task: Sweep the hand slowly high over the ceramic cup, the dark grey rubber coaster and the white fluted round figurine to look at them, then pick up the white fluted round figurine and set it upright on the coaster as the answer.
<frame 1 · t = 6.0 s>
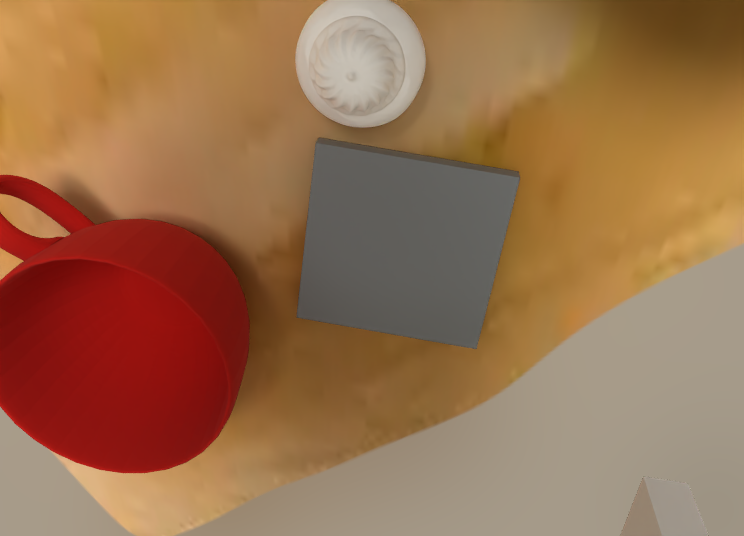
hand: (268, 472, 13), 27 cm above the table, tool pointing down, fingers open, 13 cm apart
white fluted round figurine: (368, 49, 36), on the table
ceramic cup: (154, 253, 43), on the table
coaster: (401, 244, 41), on the table
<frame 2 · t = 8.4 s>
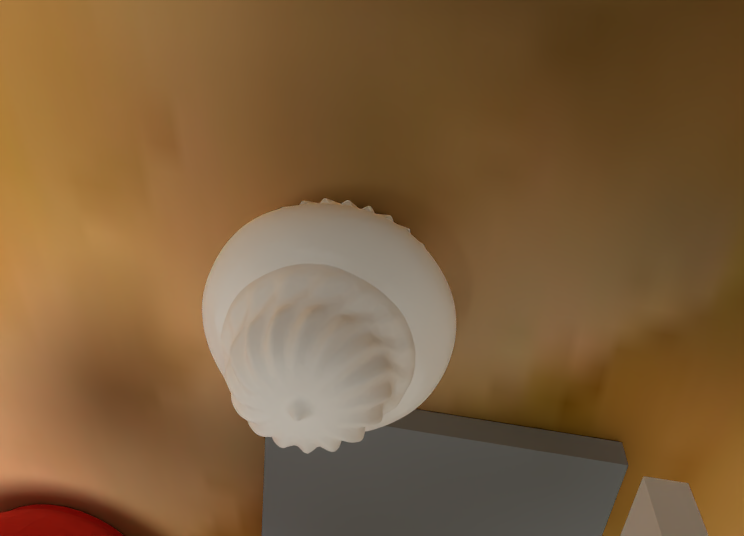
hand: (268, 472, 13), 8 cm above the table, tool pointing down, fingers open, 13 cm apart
white fluted round figurine: (350, 254, 20), on the table
ceramic cup: (36, 527, 28), on the table
coaster: (422, 534, 25), on the table
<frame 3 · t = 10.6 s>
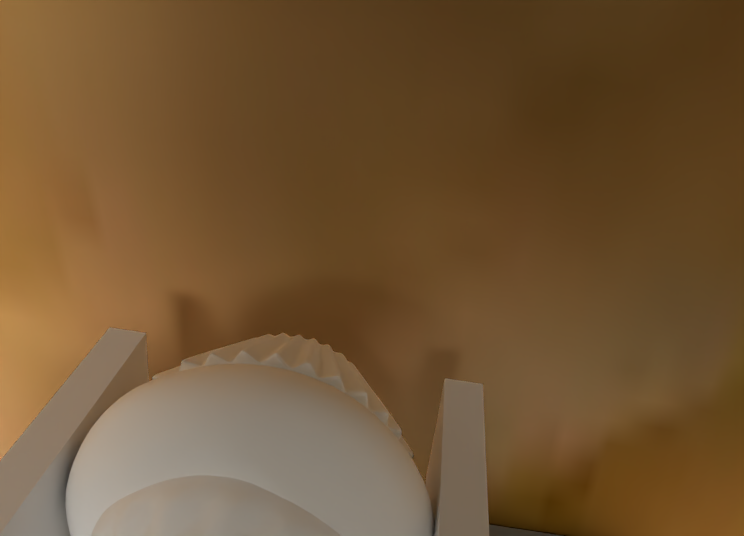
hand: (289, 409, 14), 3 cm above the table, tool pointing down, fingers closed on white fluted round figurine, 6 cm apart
white fluted round figurine: (295, 391, 15), point 2 cm above the table, touching gripper
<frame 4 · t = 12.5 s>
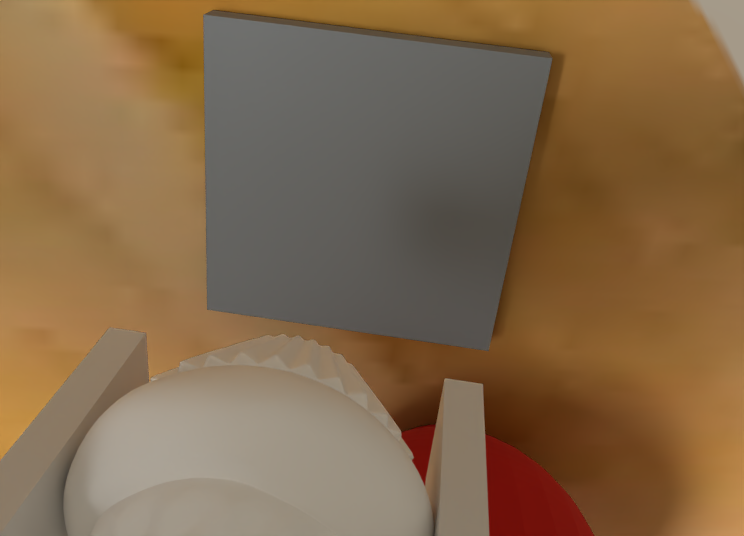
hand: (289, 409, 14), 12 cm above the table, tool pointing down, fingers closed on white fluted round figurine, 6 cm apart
white fluted round figurine: (295, 392, 15), point 12 cm above the table, touching gripper
ceramic cup: (409, 493, 32), on the table
coaster: (363, 188, 25), on the table
when the fingers open (2 cm above the table, at t = 14.7 s): white fluted round figurine stays where it is, resting on coaster.
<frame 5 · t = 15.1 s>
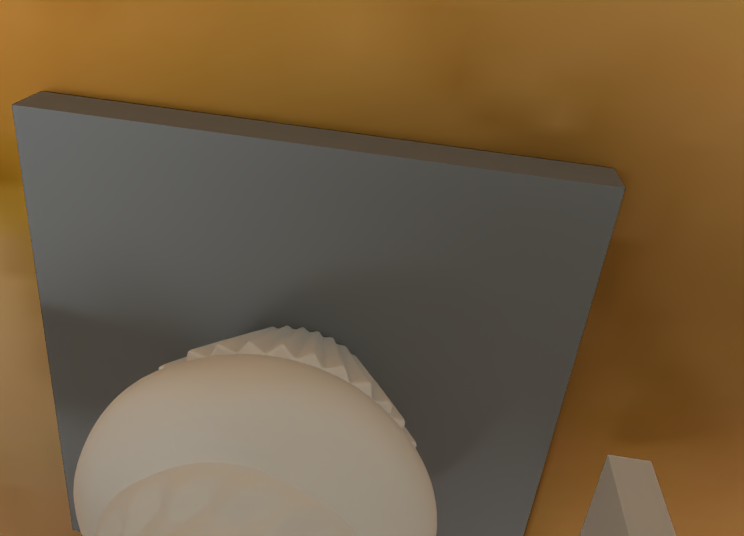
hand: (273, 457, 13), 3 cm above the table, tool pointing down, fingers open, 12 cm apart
white fluted round figurine: (298, 383, 15), point 1 cm above the table, touching coaster
coaster: (305, 364, 16), on the table
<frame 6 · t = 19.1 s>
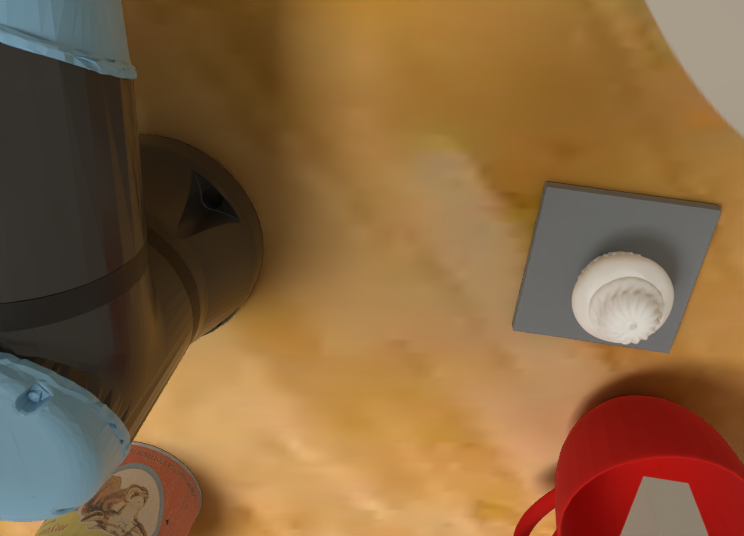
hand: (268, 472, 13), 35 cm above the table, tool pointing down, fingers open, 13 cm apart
white fluted round figurine: (611, 271, 47), point 1 cm above the table, touching coaster
ceramic cup: (603, 437, 55), on the table
coaster: (608, 267, 48), on the table
canned food: (142, 487, 64), on the table
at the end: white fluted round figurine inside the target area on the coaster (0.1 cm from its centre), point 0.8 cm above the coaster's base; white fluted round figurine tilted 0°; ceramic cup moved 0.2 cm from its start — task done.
